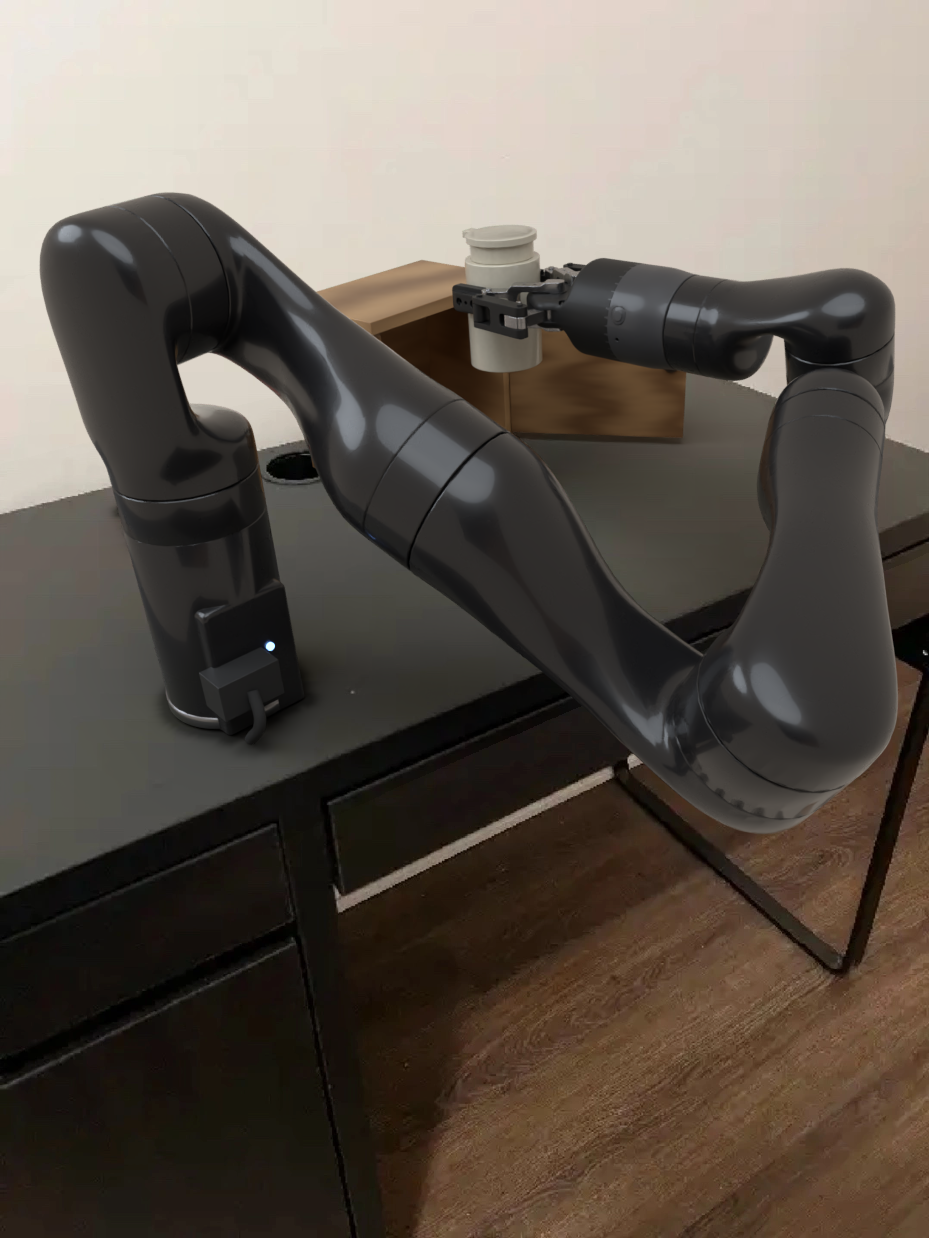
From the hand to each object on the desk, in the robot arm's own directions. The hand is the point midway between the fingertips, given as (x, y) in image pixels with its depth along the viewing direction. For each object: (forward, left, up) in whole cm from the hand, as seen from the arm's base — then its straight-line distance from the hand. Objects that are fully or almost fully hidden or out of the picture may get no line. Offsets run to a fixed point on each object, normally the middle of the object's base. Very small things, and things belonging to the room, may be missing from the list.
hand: (484, 287), depth 90 cm
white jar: (-2, 0, -6) cm, 7 cm away
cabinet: (+6, -6, -19) cm, 21 cm away
